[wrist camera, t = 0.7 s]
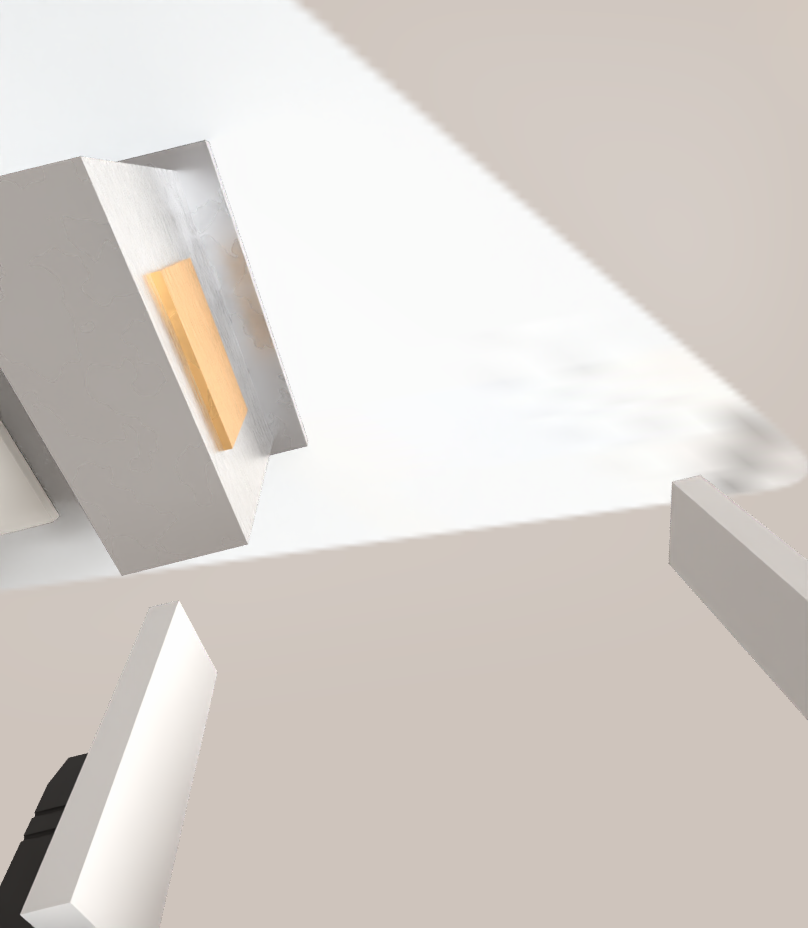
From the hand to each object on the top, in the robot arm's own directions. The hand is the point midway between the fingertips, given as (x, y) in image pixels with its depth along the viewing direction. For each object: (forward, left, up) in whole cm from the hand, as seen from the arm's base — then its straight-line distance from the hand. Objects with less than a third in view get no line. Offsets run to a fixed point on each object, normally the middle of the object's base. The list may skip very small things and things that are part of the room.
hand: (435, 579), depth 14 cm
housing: (-4, -11, -23) cm, 26 cm away
